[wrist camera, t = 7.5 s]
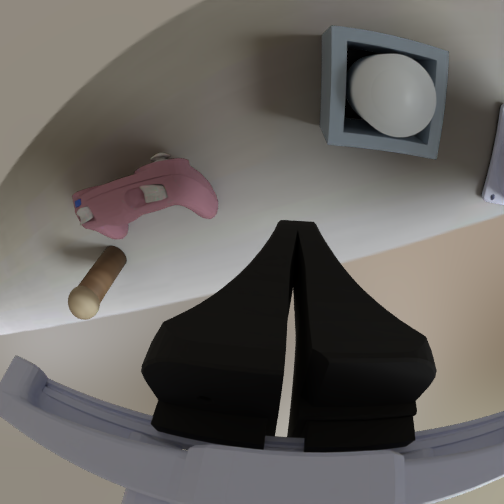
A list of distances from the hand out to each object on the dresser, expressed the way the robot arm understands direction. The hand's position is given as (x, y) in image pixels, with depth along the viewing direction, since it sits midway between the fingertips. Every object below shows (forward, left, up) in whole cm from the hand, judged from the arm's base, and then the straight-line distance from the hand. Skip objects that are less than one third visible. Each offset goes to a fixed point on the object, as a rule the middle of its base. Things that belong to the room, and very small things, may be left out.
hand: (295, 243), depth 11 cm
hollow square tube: (-4, -6, -9) cm, 12 cm away
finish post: (+16, +9, -9) cm, 21 cm away
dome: (-4, -6, -7) cm, 10 cm away
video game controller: (+10, +2, -10) cm, 14 cm away
